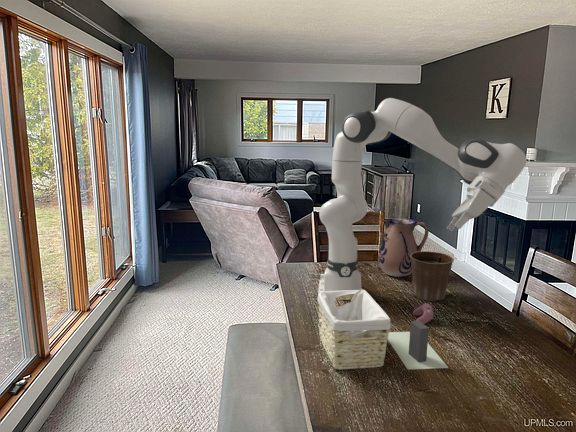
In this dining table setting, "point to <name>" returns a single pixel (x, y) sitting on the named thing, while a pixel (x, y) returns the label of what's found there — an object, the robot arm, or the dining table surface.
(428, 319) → the video game controller
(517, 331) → the dining table surface
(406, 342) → the mat
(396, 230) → the ceramic pitcher
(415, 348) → the domino
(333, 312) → the storage basket
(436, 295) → the plant pot
